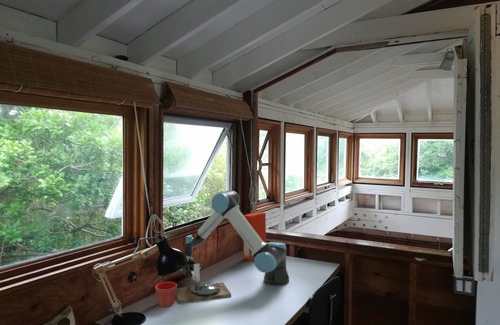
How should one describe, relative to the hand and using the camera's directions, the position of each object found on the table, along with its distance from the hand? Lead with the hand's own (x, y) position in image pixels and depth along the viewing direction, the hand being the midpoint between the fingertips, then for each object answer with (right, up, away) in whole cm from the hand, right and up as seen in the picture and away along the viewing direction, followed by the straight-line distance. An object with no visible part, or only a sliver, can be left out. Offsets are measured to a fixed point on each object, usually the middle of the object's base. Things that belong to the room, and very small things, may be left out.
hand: (194, 277), depth 199 cm
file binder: (+34, -7, +70) cm, 78 cm away
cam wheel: (+7, -8, +4) cm, 11 cm away
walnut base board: (+4, -10, +3) cm, 11 cm away
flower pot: (-13, -11, -10) cm, 19 cm away
